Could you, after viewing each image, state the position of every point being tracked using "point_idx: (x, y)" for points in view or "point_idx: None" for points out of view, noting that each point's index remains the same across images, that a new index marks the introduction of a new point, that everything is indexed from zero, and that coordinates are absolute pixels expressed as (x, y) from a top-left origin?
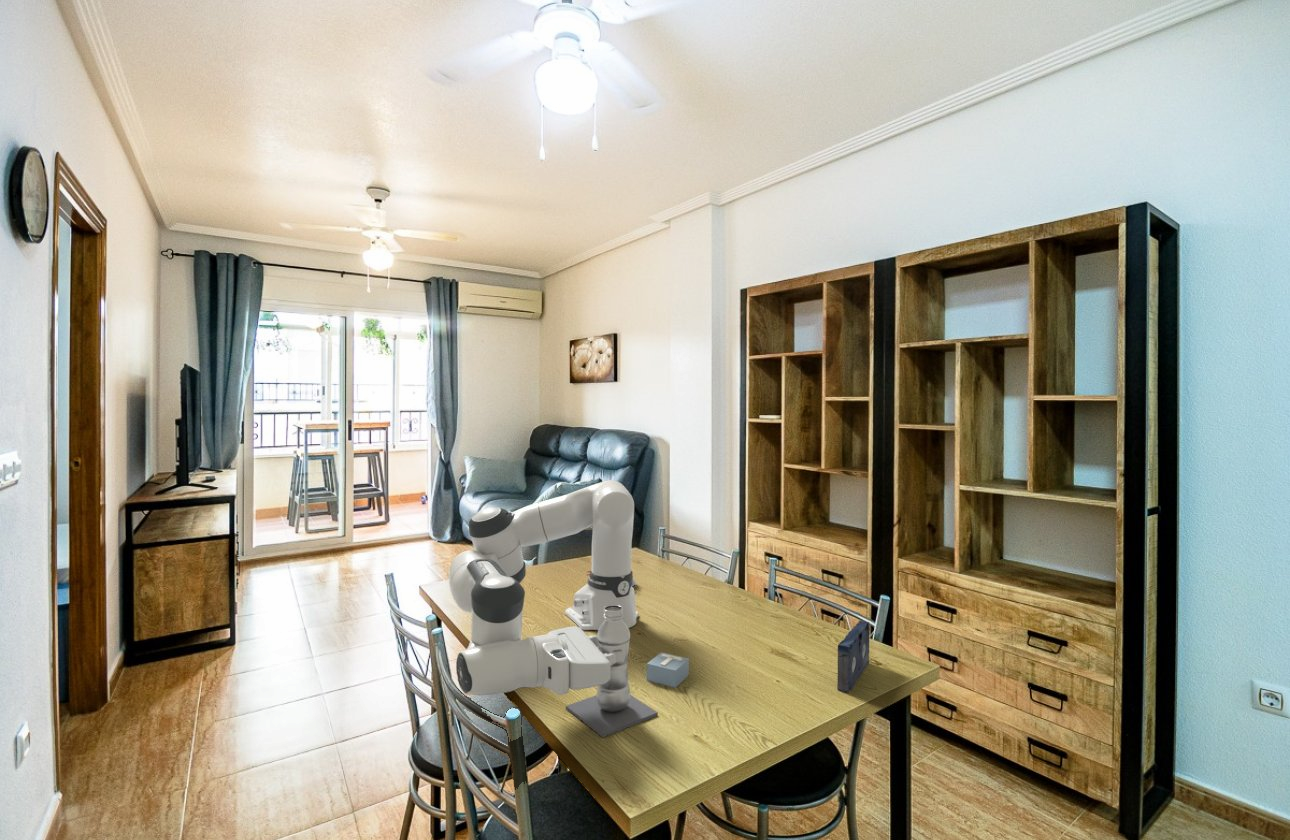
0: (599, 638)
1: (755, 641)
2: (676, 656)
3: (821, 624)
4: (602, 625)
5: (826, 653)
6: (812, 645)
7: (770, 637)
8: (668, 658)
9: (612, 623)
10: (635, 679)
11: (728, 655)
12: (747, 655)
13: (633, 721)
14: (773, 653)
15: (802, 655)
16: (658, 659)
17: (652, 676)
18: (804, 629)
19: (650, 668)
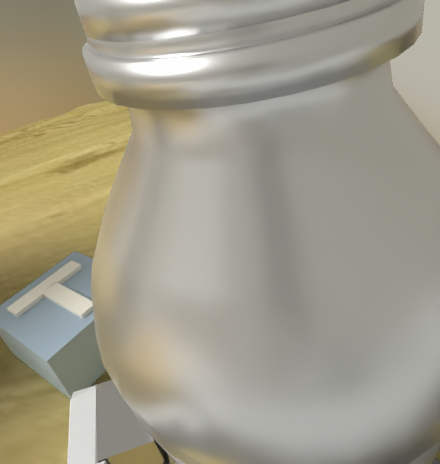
0: (437, 415)
1: (7, 188)
2: (43, 277)
3: (10, 132)
4: (318, 243)
5: (106, 129)
6: (71, 138)
7: (7, 173)
8: (53, 293)
9: (392, 84)
10: (48, 444)
11: (37, 221)
12: (56, 197)
13: (435, 461)
14: (71, 170)
15: (99, 146)
16: (36, 323)
17: (85, 371)
18: (11, 144)
19: (67, 359)
